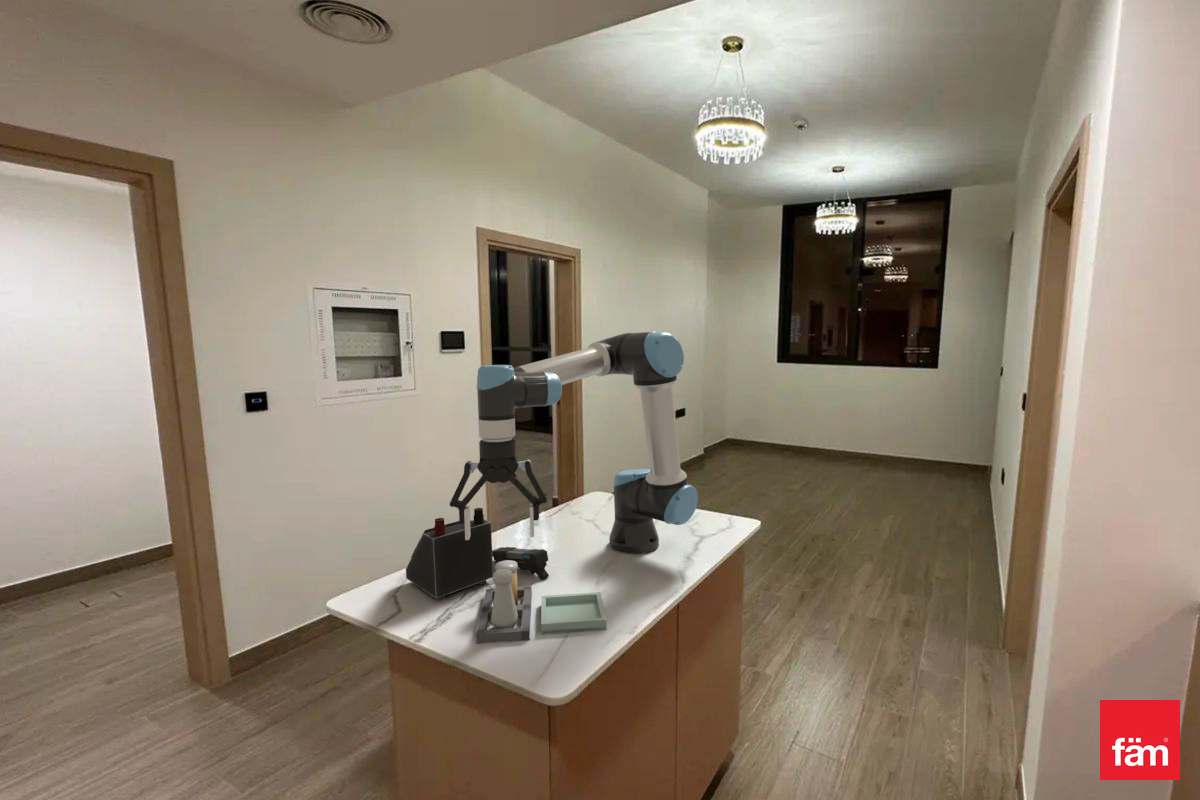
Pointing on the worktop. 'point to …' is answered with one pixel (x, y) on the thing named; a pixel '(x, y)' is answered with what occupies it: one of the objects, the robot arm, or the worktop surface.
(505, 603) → the salt shaker
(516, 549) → the gun
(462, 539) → the voltmeter
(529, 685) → the worktop surface
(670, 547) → the worktop surface
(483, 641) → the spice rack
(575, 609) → the tray
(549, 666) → the worktop surface
